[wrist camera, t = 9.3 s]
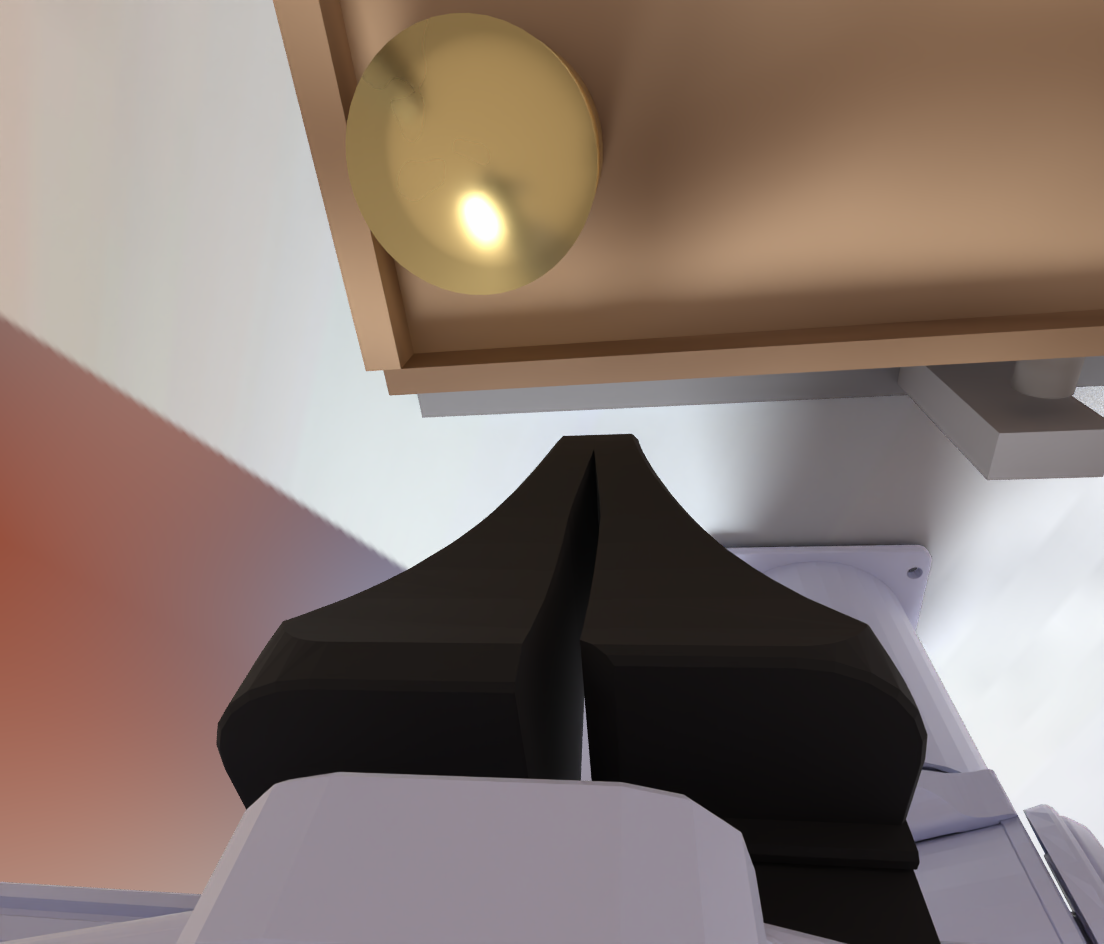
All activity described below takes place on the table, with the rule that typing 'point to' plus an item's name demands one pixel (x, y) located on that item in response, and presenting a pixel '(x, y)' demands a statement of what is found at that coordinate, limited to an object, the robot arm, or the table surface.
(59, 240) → the table surface
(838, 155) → the beam
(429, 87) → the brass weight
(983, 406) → the beam stand
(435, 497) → the table surface
